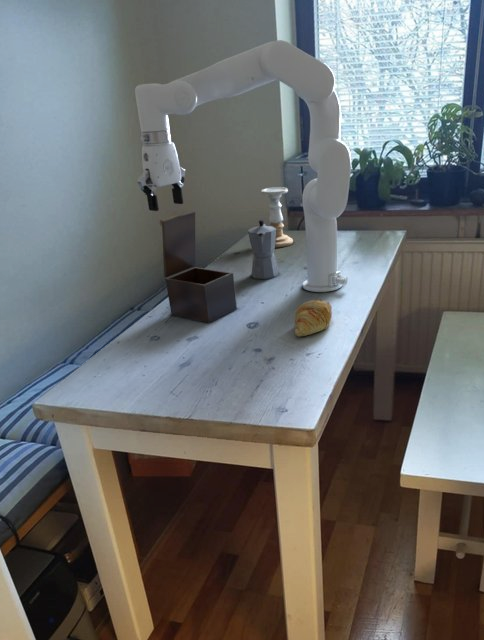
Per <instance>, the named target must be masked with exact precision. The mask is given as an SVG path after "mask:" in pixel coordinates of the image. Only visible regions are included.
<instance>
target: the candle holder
mask: <svg viewBox="0 0 484 640" xmlns="http://www.w3.org/2000/svg"><path fill="white" fill-rule="evenodd" d="M288 192H289V188H288V187H283V186H274V187H267V188H263V189H261V190H260V193H261V195H264V196H267V197H268V199H269V200H270V203H269V204H268V208H269V209H270V212H269V217H268V221H269V222H270V224H269V225H268V226H270V227H274V228H275V229H276V237H275V248H285V247H288V246H291V245H292V244H293V243H294V240H293V238H292V237H290V236H288V235H287V234H284V233H283V232H284V231H283V229H284V227H285V224H284V223H283V221H284V217H283V214H282V210H281V208H282V206H283V205H282V203H281V201H280V199H281V198H282V196H283V195H284V194H287V193H288Z"/></svg>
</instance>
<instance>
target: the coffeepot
mask: <svg viewBox="0 0 484 640" xmlns="http://www.w3.org/2000/svg"><path fill="white" fill-rule="evenodd" d="M258 223H259V226H255V227H251V228H250V229H248V230H247V235H248V238H249V242H250V248H251V251H252V252H253V256H252V264H251V265H252V267H251V276H252V277H253V278H254V279H257V280H268V279H272V278H275V277H277V276H278V275H279V269H278V264H277V260H276V256H275V254H274V251H275V248H276V247H275V237H276V229H275V228H274V227H270V226H269V225H267V224H266V223H265V221H264V220H263V219H260V220H258Z"/></svg>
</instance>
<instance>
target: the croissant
mask: <svg viewBox="0 0 484 640" xmlns="http://www.w3.org/2000/svg"><path fill="white" fill-rule="evenodd" d="M332 311H333V310H332V305H331V304H330V302H328V301H323V300H322V299H313V300H312V299H311V300H308V301H305V302H303V303H302V304H300V305H299V306H298V307H297V308H296V310H295V312H294V328H295V329H294V333H295V334H294V335H295V336H296V337H306V336H310V335H313V334H316V333H318V332H321V331H323V330H326V329H328V327H329V325H330V323H331V320H332V315H333V312H332Z"/></svg>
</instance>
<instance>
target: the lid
mask: <svg viewBox="0 0 484 640" xmlns="http://www.w3.org/2000/svg"><path fill="white" fill-rule="evenodd" d="M159 225H160V227H161V232H162V233H161V235H162V254H163V256H162V257H163V259H162V260H163V261H162V262H163V277H164V278H169V277H171V276H174V275H176V274H179V273H181V272H184V271H186V270H189V269H191V268H194V267H197V266H196V265H197V264H196V262H197V261H196V211H190V212H186V213H183V214H180V215H172V216H170V217H166V218H163V219H160V220H159Z"/></svg>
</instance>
